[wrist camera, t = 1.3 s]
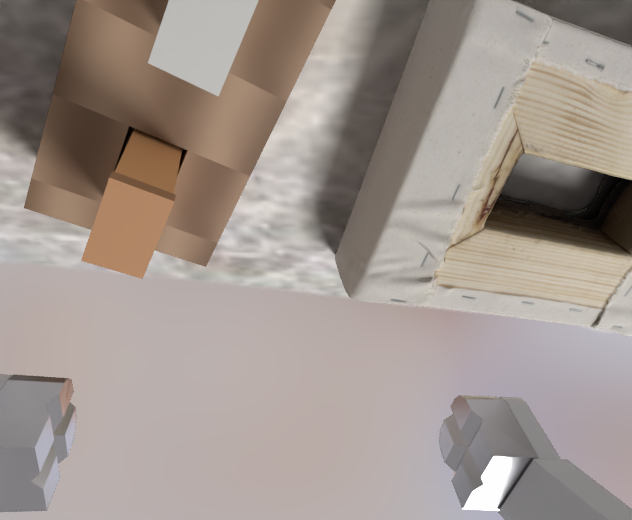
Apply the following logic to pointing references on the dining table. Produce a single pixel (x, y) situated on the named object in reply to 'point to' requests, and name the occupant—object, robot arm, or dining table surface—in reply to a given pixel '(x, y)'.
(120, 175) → the orange plug
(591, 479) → the robot arm
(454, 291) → the pale hollow square block
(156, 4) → the block
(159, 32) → the cream plug
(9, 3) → the dining table surface
